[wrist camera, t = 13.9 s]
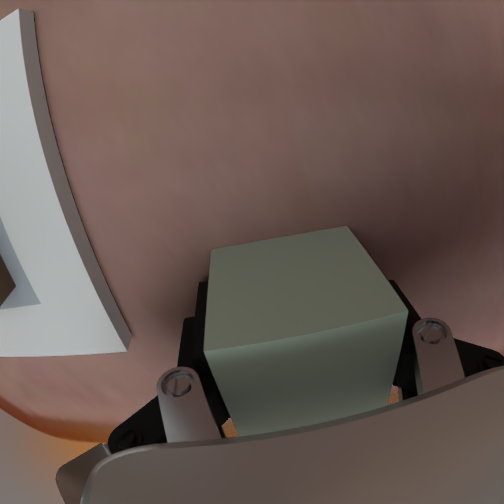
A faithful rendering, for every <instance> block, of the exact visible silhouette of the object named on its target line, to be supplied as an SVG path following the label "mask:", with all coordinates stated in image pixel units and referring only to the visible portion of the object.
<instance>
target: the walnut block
mask: <svg viewBox="0 0 504 504" xmlns="http://www.w3.org/2000/svg"><path fill="white" fill-rule="evenodd" d="M15 287H16V285H15V283H14V281H13V279H12V277H11V275H10V273H9V271H8V269H7V267H6V265H5V263H4V261H3V259H2V256H1V254H0V307H1V305H2V304H3V303H4V301H5V300H6V299H7V297H8V296H9V295H10V293H11V292H12V291H13V290H14V288H15Z"/></svg>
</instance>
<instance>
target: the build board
mask: <svg viewBox="0 0 504 504" xmlns="http://www.w3.org/2000/svg"><path fill="white" fill-rule="evenodd" d="M0 254H1V256H2V259H3V261H4V263H5V265H6V267H7V269H8V271H9V273H10V275H11V277H12V279H13V281H14V283H15V285H16V287H15V288H14V290H13V291H12V292H11V293H10V295H9V296H8V297H7V299H6V300H5V301H4V303H3V304H2V305H1V307H0V356H5V357H19V356H62V355H83V354H99V353H113V352H125V351H127V350H128V347H129V344H130V340H131V337H132V335H131V333H130V331H129V329H128V327H127V325H126V323H125V321H124V319H123V317H122V315H121V313H120V311H119V309H118V307H117V304H116V302H115V300H114V298H113V296H112V294H111V292H110V289H109V287H108V285H107V283H106V281H105V278H104V276H103V274H102V271H101V269H100V267H99V264H98V262H97V260H96V257H95V255H94V252H93V250H92V247H91V245H90V242H89V240H88V237H87V235H86V232H85V229H84V227H83V224H82V221H81V219H80V216H79V213H78V210H77V207H76V205H75V202H74V199H73V196H72V193H71V190H70V187H69V184H68V180H67V177H66V174H65V171H64V167H63V164H62V161H61V157H60V154H59V150H58V146H57V143H56V139H55V135H54V131H53V127H52V123H51V119H50V115H49V110H48V106H47V101H46V96H45V91H44V86H43V81H42V75H41V69H40V63H39V56H38V49H37V42H36V33H35V24H34V12H31V11H27V10H23V9H17V10H15V11H14V12H12V13H11V14H9V15H8V16H6V17H5V18H3V19H2V20H0Z"/></svg>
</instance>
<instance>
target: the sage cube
mask: <svg viewBox="0 0 504 504" xmlns="http://www.w3.org/2000/svg"><path fill="white" fill-rule="evenodd" d="M407 316H408V309H407V308H406V306H405V305H404V303H403V302H402V300H401V299H400V297H399V296H398V295H397V293H396V292H395V290H394V289H393V287H392V286H391V285H390V283H389V282H388V280H387V279H386V278H385V276H384V275H383V273H382V272H381V271H380V269H379V268H378V266H377V265H376V264H375V262H374V261H373V260H372V258H371V257H370V256H369V254H368V253H367V252H366V250H365V249H364V248H363V246H362V245H361V244H360V242H359V241H358V240H357V238H356V237H355V236H354V234H353V233H352V232H351V231H350V229H349V228H348V227H347V226H342V227H336V228H330V229H324V230H319V231H313V232H307V233H301V234H296V235H290V236H284V237H278V238H273V239H267V240H261V241H256V242H250V243H245V244H239V245H233V246H228V247H222V248H217V249H211V257H210V269H209V281H208V294H207V307H206V321H205V336H204V354H205V356H206V359H207V361H208V364H209V367H210V369H211V371H212V374H213V376H214V379H215V381H216V384H217V386H218V389H219V391H220V393H221V396H222V398H223V401H224V403H225V405H226V408H227V410H228V412H229V414H230V417H231V419H232V421H233V424H234V426H235V428H236V430H237V432H238V435H239V436H247V435H255V434H262V433H269V432H275V431H281V430H287V429H292V428H298V427H303V426H308V425H313V424H318V423H323V422H327V421H331V420H336V419H340V418H344V417H348V416H352V415H356V414H359V413H363V412H367V411H370V410H374V409H377V408H381V407H384V406H386V405H387V402H388V398H389V395H390V391H391V387H392V384H393V380H394V376H395V372H396V368H397V364H398V360H399V355H400V351H401V346H402V342H403V337H404V332H405V327H406V321H407Z"/></svg>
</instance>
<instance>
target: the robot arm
mask: <svg viewBox="0 0 504 504" xmlns="http://www.w3.org/2000/svg"><path fill="white" fill-rule="evenodd" d="M367 253H368V252H367ZM368 254H369V253H368ZM369 256H370V257H371V255H370V254H369ZM371 258H372V257H371ZM372 260H373V258H372ZM373 261H374V260H373ZM374 262H375V261H374ZM375 264H376V262H375ZM376 265H377V264H376ZM377 266H378V265H377ZM378 268H379V266H378ZM379 269H380V268H379ZM380 271H381V272H382V270H381V269H380ZM382 273H383V272H382ZM383 275H384V273H383ZM384 276H385V275H384ZM385 278H386V279H387V277H386V276H385ZM387 280H388V279H387ZM388 282H389V283H390V285H391V286H392V287H393V289H394V290H395V292H396V293H397V295H398V296H399V297H400V299H401V300H402V302H403V303H404V305H405V306H406V308H407V309H408V316H407V321H406V327H405V332H404V337H403V342H402V346H401V351H400V355H399V360H398V364H397V368H396V372H395V376H394V380H393V385H394V386H397V387H398V394H399V402H397V403H394V404H391V405H387V406H384V407H381V408H377V409H374V410H370V411H367V412H363V413H359V414H356V415H352V416H348V417H344V418H340V419H336V420H331V421H327V422H323V423H318V424H313V425H308V426H303V427H298V428H292V429H287V430H281V431H275V432H269V433H262V434H255V435H247V436H239V437H230V438H227V437H226V434H225V432H224V429H223V426H222V425H223V424H224V423H225V422H226V421H227V420H228V418H231V417H230V414H229V412H228V410H227V408H226V405H225V403H224V401H223V398H222V396H221V393H220V391H219V389H218V386H217V384H216V381H215V379H214V376H213V374H212V371H211V369H210V367H209V364H208V361H207V359H206V356H205V354H204V336H205V321H206V307H207V294H208V281H205V282H200V283H199V286H198V295H197V303H196V312H195V317H189V318H185V319H184V322H183V329H182V336H181V343H180V350H179V357H178V365H177V367H176V368H172V369H170V370H168V371H166V372H165V373H164V374H163V375H162V376H161V377H160V378H159V380H158V383H157V394H158V395H157V396H156V397H155V398H154V399H152V400H151V401H150V402H149V403H147V404H146V405H145V406H144V407H142V408H141V409H140V410H138V411H137V412H136V413H135V414H133V415H132V416H131V417H129V418H128V419H127V420H126V421H124V422H123V423H122V424H120V425H119V426H118V427H116V428H115V429H114V430H113V431H112V433H111V434H110V436H109V439H108V443H106V444H104V445H103V444H102V443H100V444H98V445H97V446H95V447H93V448H92V449H90V450H88V451H87V452H85V453H83V454H81V455H80V456H78V457H76V458H75V459H73V460H71V461H69V462H68V463H66V464H64V465H63V466H62V467H60V468H59V470H58V471H57V474H56V483H57V486H58V488H59V491H60V493H61V496H62V498H63V500H64V502H65V504H504V356H503V355H501V354H500V353H499V352H497V351H494V350H491V349H488V348H485V347H481V346H478V345H475V344H471V343H468V342H465V341H461V340H458V339H455V338H453V335H452V332H451V330H450V328H449V326H448V325H447V324H446V323H445V322H443V321H441V320H440V319H436V318H424V319H421V318H420V317H419V315H418V314H417V312H416V311H415V309H414V308H413V306H412V305H411V304H410V302H409V301H408V299H407V298H406V297H405V295H404V294H403V292H402V291H401V290H400V288H399V287H398V285H397V284H396V283H395V282H394V281H393V280H388Z"/></svg>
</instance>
